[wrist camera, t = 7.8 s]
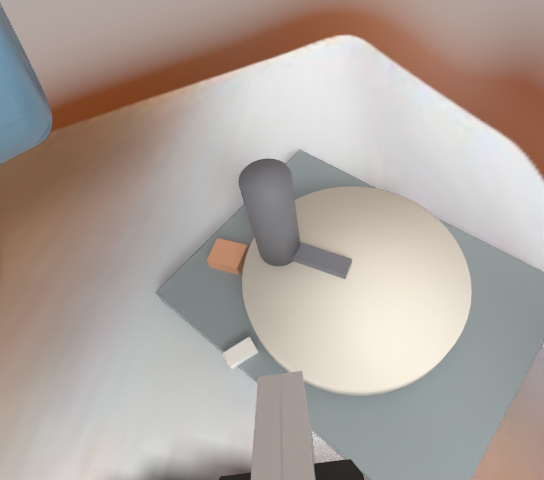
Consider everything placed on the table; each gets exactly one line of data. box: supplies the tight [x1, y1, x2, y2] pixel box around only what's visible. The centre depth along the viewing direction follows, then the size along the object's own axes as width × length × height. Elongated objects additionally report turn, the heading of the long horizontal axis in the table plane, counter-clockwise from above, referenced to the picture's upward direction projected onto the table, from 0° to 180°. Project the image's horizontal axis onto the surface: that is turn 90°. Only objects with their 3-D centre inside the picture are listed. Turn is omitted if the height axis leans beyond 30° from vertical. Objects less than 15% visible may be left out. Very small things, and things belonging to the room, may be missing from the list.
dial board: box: [155, 150, 544, 480], centre depth 27 cm, size 22×18×2 cm
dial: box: [239, 159, 472, 396], centre depth 23 cm, size 14×14×9 cm
